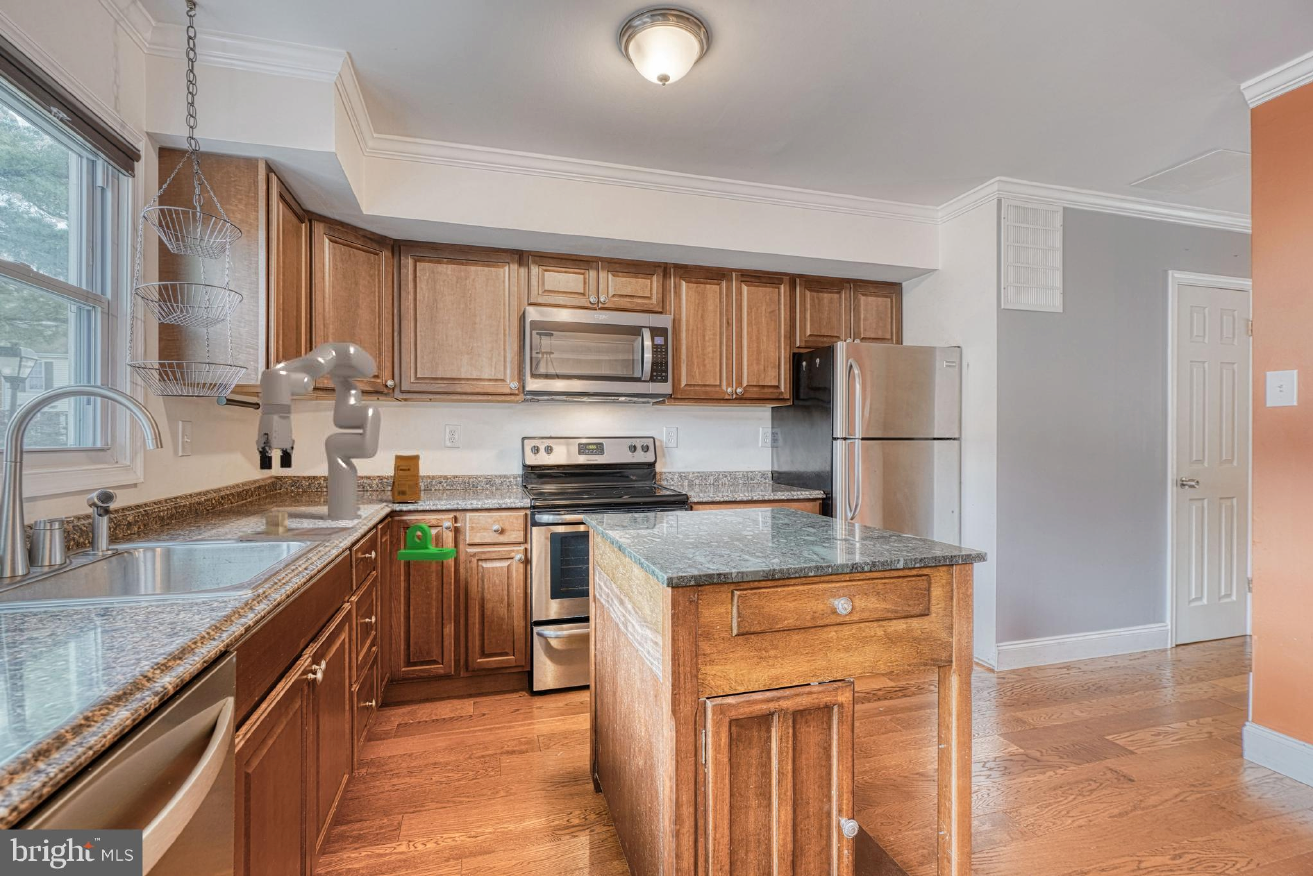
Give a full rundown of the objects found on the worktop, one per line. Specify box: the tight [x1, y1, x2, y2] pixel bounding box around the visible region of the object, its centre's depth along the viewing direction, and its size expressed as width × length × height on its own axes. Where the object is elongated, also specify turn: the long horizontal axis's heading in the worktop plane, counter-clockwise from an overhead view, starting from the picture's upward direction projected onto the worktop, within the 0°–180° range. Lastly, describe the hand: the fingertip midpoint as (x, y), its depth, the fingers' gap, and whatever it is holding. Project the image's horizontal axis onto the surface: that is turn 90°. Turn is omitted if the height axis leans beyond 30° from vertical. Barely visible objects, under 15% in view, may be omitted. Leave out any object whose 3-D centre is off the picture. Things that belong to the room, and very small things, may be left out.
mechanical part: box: [397, 523, 457, 562], centre depth 146 cm, size 12×6×8 cm, turn 83°
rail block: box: [237, 526, 358, 542], centre depth 177 cm, size 16×26×2 cm, turn 92°
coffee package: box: [390, 454, 422, 502], centre depth 275 cm, size 10×12×22 cm
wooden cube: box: [264, 511, 288, 535], centre depth 177 cm, size 4×4×7 cm
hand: (276, 468), depth 177 cm, fingers open, 9 cm apart
